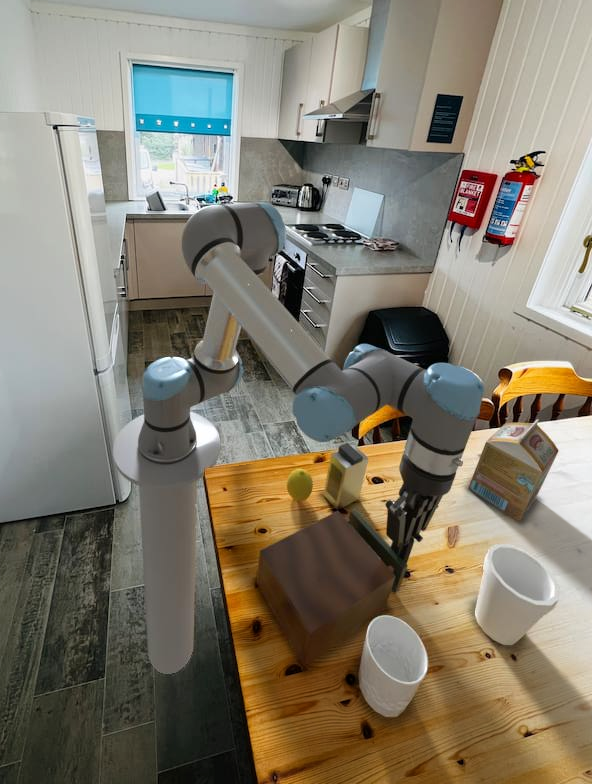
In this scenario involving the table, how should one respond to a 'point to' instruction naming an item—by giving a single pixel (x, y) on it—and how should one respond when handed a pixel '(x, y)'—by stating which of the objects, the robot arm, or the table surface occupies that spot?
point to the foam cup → (513, 593)
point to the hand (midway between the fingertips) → (396, 560)
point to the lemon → (299, 484)
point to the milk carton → (514, 467)
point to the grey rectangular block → (345, 475)
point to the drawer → (379, 547)
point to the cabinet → (323, 584)
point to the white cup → (391, 665)
